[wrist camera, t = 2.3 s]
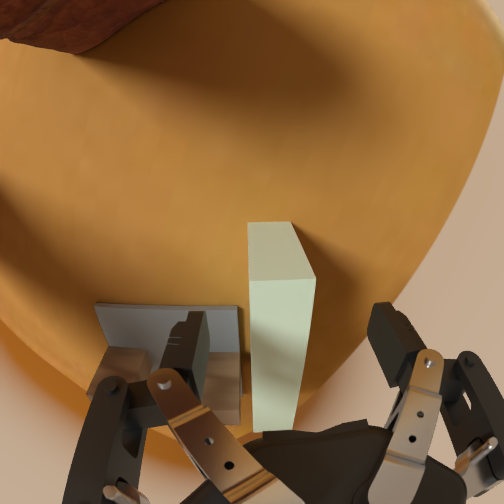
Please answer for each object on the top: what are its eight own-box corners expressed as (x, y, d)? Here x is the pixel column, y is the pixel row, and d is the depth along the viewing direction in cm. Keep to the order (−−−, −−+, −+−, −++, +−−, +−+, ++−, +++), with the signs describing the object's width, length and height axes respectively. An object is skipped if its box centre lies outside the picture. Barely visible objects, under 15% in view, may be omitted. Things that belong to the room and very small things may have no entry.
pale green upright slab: (251, 361, 25) (253, 432, 18) (247, 221, 20) (249, 281, 12) (282, 360, 26) (291, 430, 18) (290, 221, 20) (316, 278, 12)
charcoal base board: (131, 385, 27) (129, 389, 27) (96, 302, 22) (93, 306, 22) (242, 392, 27) (242, 396, 27) (237, 305, 22) (237, 309, 22)
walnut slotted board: (116, 362, 25) (96, 409, 19) (108, 345, 24) (85, 393, 18) (240, 369, 25) (240, 425, 19) (239, 352, 24) (238, 410, 18)
